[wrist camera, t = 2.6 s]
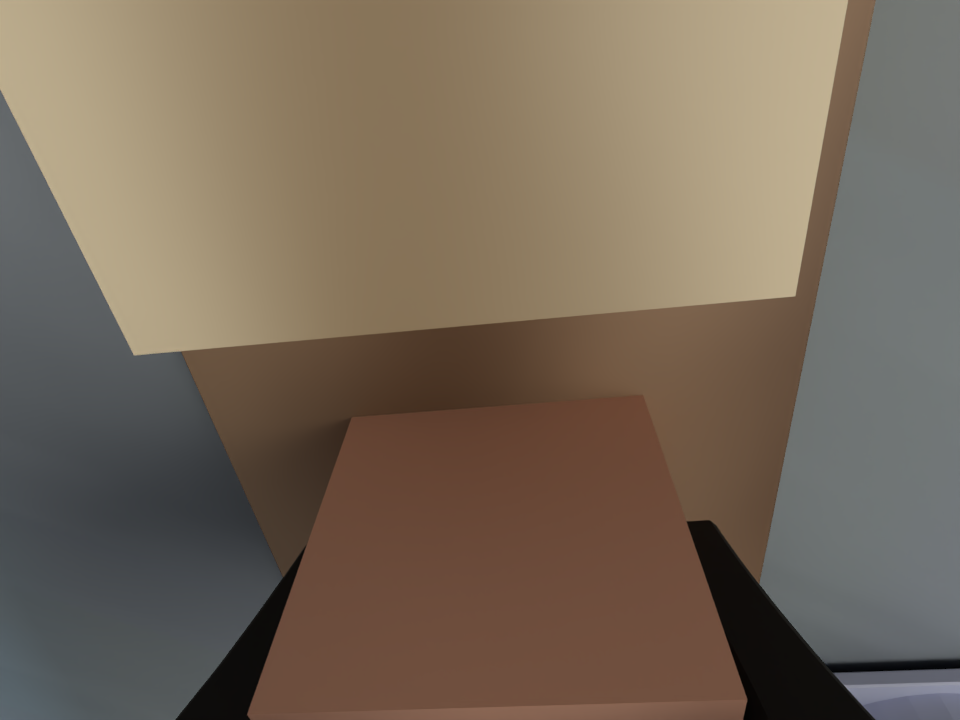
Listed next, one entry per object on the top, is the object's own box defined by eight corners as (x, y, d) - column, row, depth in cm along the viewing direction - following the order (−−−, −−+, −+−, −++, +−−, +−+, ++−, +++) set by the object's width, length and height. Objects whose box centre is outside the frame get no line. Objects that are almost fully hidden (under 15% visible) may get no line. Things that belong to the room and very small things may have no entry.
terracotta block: (642, 394, 10) (747, 700, 6) (637, 587, 13) (705, 893, 8) (351, 417, 10) (246, 714, 6) (405, 598, 13) (357, 893, 9)
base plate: (969, -735, 5) (1046, -851, 4) (734, 620, 14) (745, 652, 14) (-134, -474, 6) (-219, -534, 5) (331, 636, 15) (323, 667, 15)
